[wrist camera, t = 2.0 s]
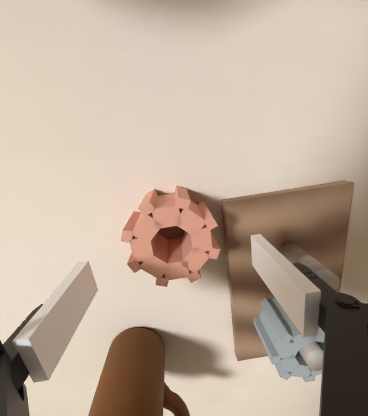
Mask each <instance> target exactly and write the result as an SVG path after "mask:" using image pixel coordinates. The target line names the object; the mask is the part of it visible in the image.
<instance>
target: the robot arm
mask: <svg viewBox="0 0 368 416" xmlns="http://www.w3.org/2000/svg"><path fill="white" fill-rule="evenodd" d="M251 252H252V266H253V267H254V268H255V270H256V271H257V273H258V274H259V275H260V277H261V278H262V280H263V281H264V283H265V284H266V285H267V287H268V288H269V290H270V291H271V292H272V294H273V295H274V297H275V298H276V300H277V301H278V302H279V304H280V305H281V307H282V308H283V309H284V311H285V312H286V314H287V315H288V317H289V318H290V319H291V321H292V322H293V324H294V325H295V326H296V328H297V329H298V331H299V332H300V334H301V335H302V336H303V338H304V337H310V336H316V335H318V328H319V327H320V328H321V329H322V331H323V332H324V333H325V337H324V348H323V349H324V351H323V367H322V382H321V397H320V413H319V416H368V304H365V303H361V302H360V301H359V300H357V299H356V298H354V297H352V296H350V295H347V294H344V293H338V292H336V291H335V290H334V289H333V288H332V287H331V286H329V285H328V284H327V283H326V282H325V281H323V280H322V279H321V278H320V277H318V275H316V274H315V273H313V271H312V270H311V269H309V268H308V267H307V266H305V265H303V264H301V263H291V262H290V261H288V260H287V259H286V258H285V257H284V256H283V255H282V254H281V253H280V252H279V251H278V250H277V249H276V248H275V247H273V246H272V245H271V244H270V243H269V242H268V241H267V240H266V239H265V238H264V237H263V236H262V235H261V234H256V235H251ZM97 290H98V289H97V286H96V282H95V279H94V276H93V273H92V270H91V267H90V264H89V261H85V262H79V263H78V264H77V265H76V266H75V268H74V269H73V270H72V271H71V272H70V274H69V275H68V276H67V277H66V278H65V279H64V281H63V282H62V283H61V284H60V285H59V287H58V288H57V289H56V290H55V291H54V292H53V294H52V295H51V296H50V297H49V298H48V299H47V301H46V302H45V303H44V304H41V305H40V306H38V307H37V308H36V309H35V310H33V311H32V312H31V313H30V314H29V316H28V317H27V318H26V320H24V321H23V322H22V324H21V325H20V326H19V327H18V328H17V329H16V330H15V332H14V333H13V334H12V335H11V336H10V337H9V338H8V339H7V341H6V342H5V343H4V344H3V345H2V343H1V341H0V416H29V408H28V399H27V390H26V386H25V384H24V381H25V380H26V378H27V377H28V375H30V377H31V379H32V380H33V382H39V381H45V380H49V379H50V377H51V375H52V373H53V371H54V369H55V368H56V366H57V364H58V362H59V360H60V358H61V357H62V355H63V353H64V351H65V349H66V347H67V345H68V344H69V342H70V340H71V338H72V336H73V334H74V333H75V331H76V329H77V327H78V325H79V323H80V322H81V320H82V318H83V316H84V314H85V312H86V311H87V309H88V307H89V305H90V303H91V301H92V299H93V298H94V296H95V294H96V292H97Z"/></svg>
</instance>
